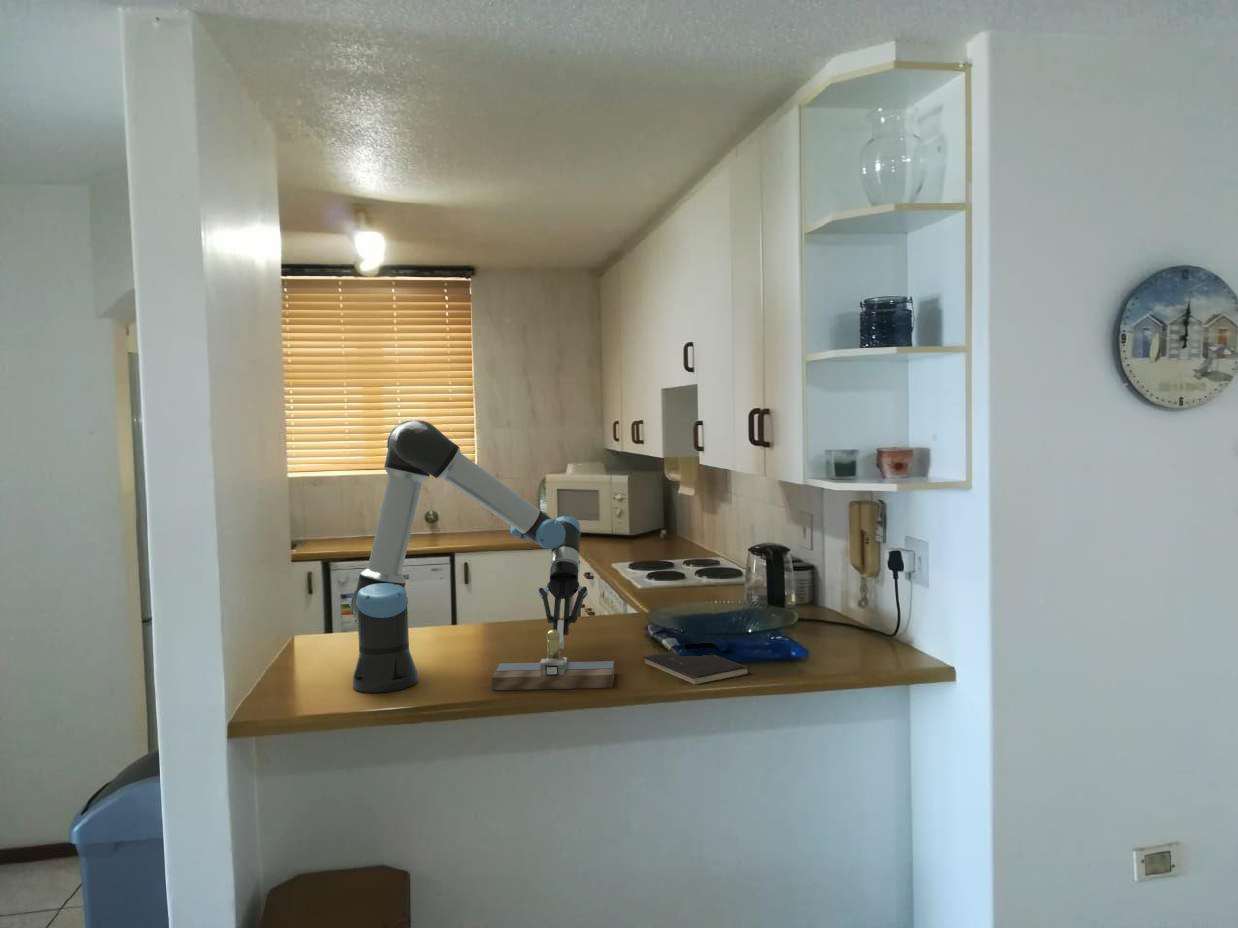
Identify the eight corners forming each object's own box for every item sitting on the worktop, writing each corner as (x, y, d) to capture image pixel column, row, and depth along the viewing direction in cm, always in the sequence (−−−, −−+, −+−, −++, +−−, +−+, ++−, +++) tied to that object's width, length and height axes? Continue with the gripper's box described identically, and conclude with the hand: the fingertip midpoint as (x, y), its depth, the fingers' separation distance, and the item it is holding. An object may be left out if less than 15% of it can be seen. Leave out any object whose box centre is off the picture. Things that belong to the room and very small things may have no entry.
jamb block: (492, 690, 205) (491, 664, 205) (495, 683, 210) (494, 658, 210) (612, 687, 204) (611, 661, 204) (613, 681, 209) (612, 656, 209)
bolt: (545, 674, 205) (543, 635, 204) (548, 666, 212) (547, 628, 212) (558, 674, 205) (557, 634, 204) (561, 665, 212) (560, 627, 211)
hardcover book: (693, 687, 204) (693, 677, 204) (643, 665, 225) (643, 656, 224) (749, 675, 212) (749, 666, 212) (695, 655, 232) (695, 646, 232)
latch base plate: (496, 683, 210) (495, 665, 210) (500, 675, 217) (499, 658, 217) (613, 680, 210) (612, 663, 209) (614, 672, 216) (613, 656, 216)
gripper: (590, 575, 238) (587, 652, 223) (542, 576, 239) (535, 653, 223) (587, 559, 233) (584, 637, 217) (538, 560, 233) (532, 638, 218)
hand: (559, 645), depth 220 cm, fingers closed
